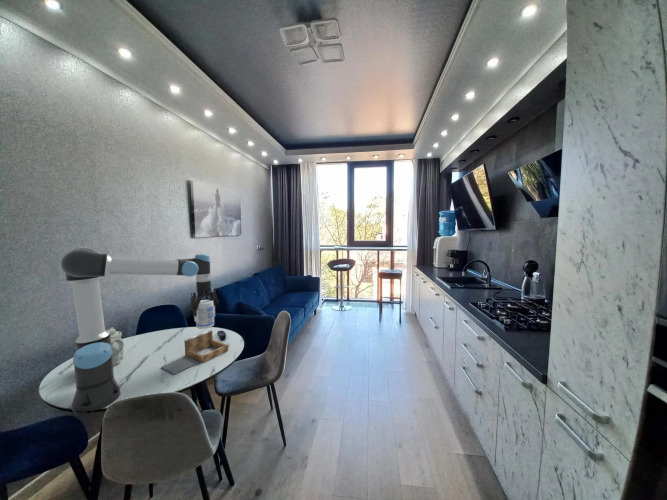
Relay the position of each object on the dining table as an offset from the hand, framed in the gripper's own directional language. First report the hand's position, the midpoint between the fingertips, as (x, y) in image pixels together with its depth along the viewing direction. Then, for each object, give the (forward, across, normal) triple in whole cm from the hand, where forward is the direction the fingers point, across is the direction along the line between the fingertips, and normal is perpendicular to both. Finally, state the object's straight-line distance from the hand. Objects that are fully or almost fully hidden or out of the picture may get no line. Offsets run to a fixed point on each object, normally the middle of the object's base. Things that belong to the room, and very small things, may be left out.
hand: (205, 318), depth 147 cm
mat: (+21, -15, 0) cm, 26 cm away
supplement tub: (+5, 0, 0) cm, 5 cm away
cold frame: (+21, 0, 0) cm, 21 cm away
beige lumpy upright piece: (+21, -34, +35) cm, 53 cm away
